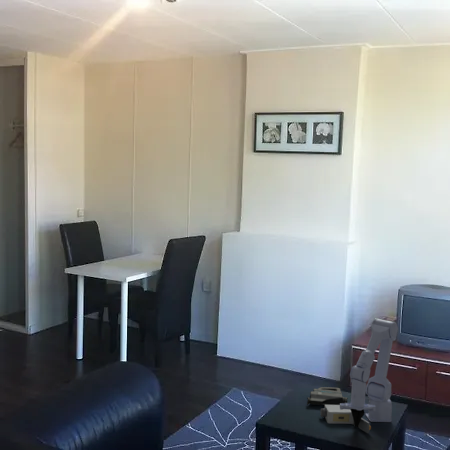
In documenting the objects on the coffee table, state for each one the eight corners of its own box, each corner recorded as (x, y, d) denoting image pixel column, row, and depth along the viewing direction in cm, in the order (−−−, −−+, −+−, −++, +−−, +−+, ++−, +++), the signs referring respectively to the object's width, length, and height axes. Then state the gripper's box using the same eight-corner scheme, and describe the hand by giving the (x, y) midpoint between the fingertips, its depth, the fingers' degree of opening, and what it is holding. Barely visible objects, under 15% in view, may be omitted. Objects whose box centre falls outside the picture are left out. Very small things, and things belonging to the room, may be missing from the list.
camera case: (350, 416, 268) (351, 405, 267) (355, 424, 259) (356, 412, 259) (319, 415, 267) (320, 404, 266) (323, 423, 258) (324, 412, 258)
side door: (351, 423, 259) (352, 413, 258) (355, 423, 260) (355, 413, 259) (367, 433, 250) (368, 423, 249) (370, 433, 250) (371, 422, 250)
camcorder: (350, 407, 278) (351, 396, 278) (308, 408, 274) (308, 397, 274) (338, 394, 294) (339, 384, 293) (297, 395, 290) (298, 384, 290)
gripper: (342, 397, 248) (340, 429, 249) (377, 399, 248) (375, 431, 249) (339, 391, 255) (337, 422, 256) (374, 393, 255) (371, 424, 256)
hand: (356, 426), depth 253 cm, fingers closed
